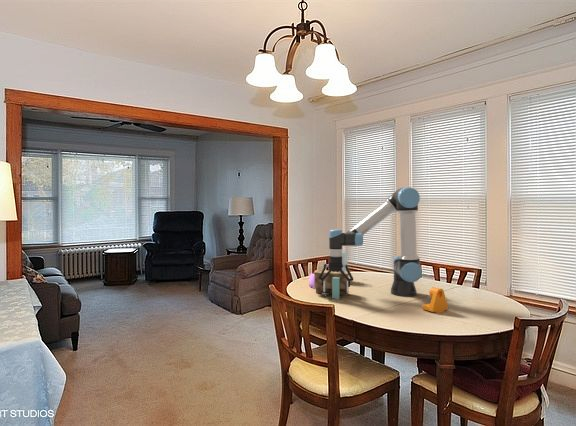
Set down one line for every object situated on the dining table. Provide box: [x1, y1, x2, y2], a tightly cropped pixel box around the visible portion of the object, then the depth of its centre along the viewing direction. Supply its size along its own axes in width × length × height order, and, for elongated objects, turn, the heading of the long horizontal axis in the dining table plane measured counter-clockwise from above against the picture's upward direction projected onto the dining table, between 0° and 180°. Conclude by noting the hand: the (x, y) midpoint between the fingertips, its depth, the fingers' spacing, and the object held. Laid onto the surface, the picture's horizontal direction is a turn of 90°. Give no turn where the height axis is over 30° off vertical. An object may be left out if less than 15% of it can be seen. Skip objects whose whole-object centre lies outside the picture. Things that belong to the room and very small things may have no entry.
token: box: [321, 291, 330, 296], centre depth 227 cm, size 4×4×2 cm
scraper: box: [331, 277, 341, 300], centre depth 222 cm, size 4×11×12 cm, turn 167°
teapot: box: [308, 273, 315, 289], centre depth 247 cm, size 18×10×10 cm, turn 33°
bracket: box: [422, 286, 448, 314], centre depth 193 cm, size 11×7×12 cm, turn 117°
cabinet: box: [313, 269, 350, 295], centre depth 228 cm, size 21×8×14 cm, turn 77°
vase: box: [342, 249, 348, 271], centre depth 266 cm, size 12×12×22 cm
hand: (335, 291), depth 218 cm, fingers open, 13 cm apart
